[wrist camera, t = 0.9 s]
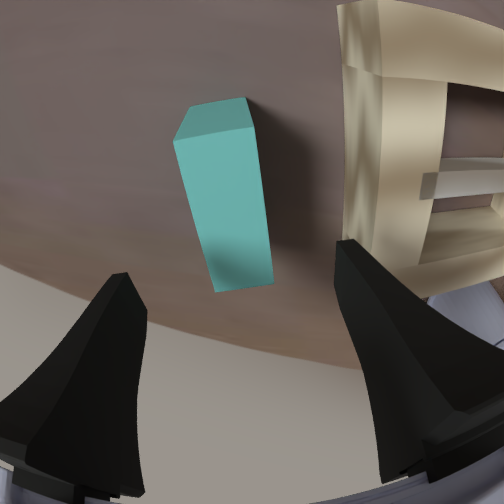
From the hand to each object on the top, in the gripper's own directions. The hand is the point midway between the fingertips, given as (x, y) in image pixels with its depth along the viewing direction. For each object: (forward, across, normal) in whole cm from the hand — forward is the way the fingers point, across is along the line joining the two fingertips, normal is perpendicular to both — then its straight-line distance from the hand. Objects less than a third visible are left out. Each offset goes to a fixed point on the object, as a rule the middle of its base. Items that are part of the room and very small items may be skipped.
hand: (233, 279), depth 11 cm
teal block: (+9, 0, 0) cm, 9 cm away
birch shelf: (+9, -16, 0) cm, 19 cm away
